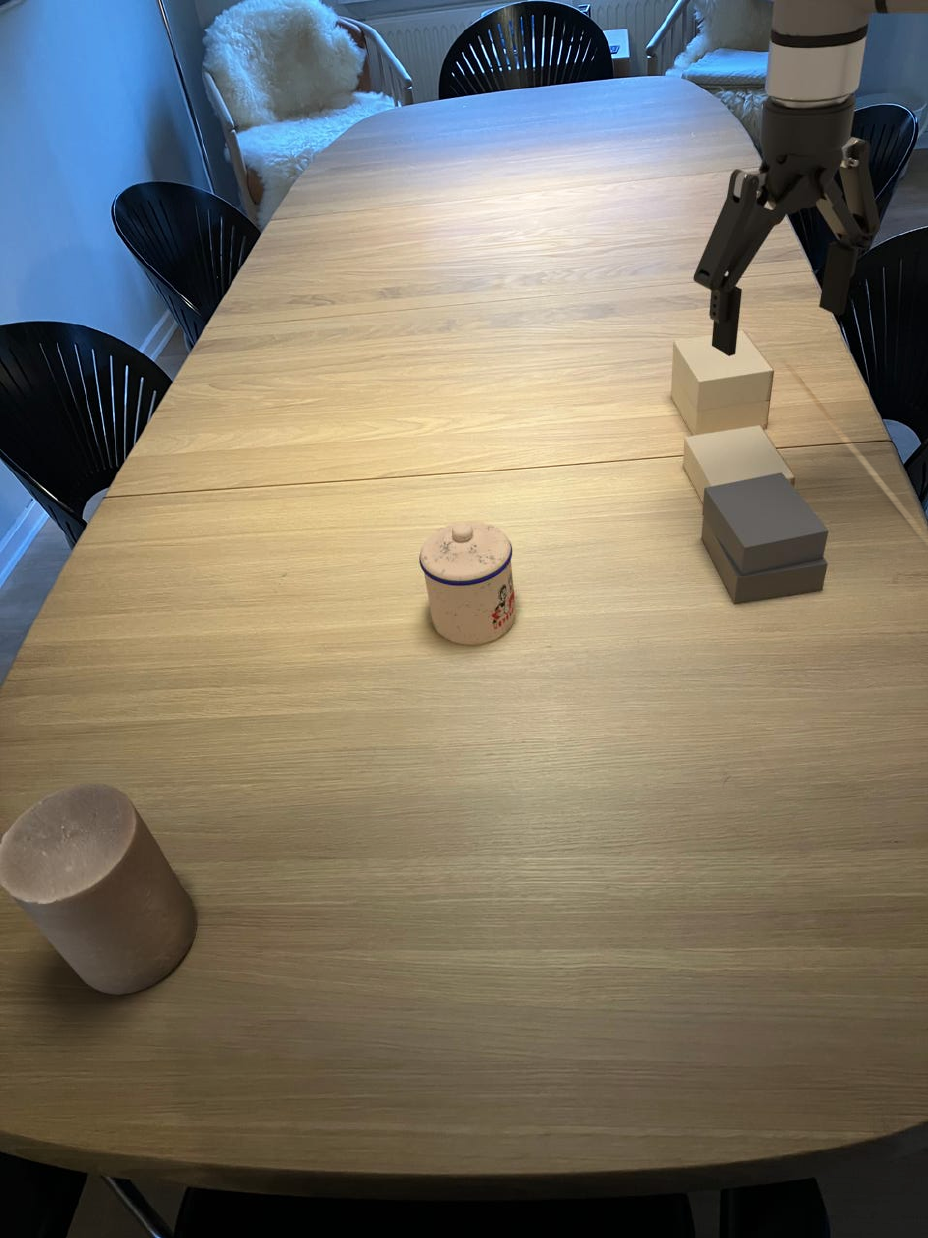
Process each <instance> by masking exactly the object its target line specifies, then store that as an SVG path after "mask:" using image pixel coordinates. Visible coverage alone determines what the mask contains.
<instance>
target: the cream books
mask: <svg viewBox="0 0 928 1238" xmlns="http://www.w3.org/2000/svg"><path fill="white" fill-rule="evenodd" d="M712 336H713V334H709V335H702V336H696V337H690V338H689V337H688V338H683V339H676V340H673V341H672V359H671V360H672V361H671V379H670V380H671V382H670V387H671V388H670V399H671V400H672V402H673V403H674V405H675V407H676V409H677V410H678V412H679V414H680V416H681V417H682V419H683V421H684V423H685V424H686V426H687V428H688V431H690V433H691V436H695V435H701V434H708V433H714V432H721V431H727V430H733V429H740V428H746V427H752V426H759V425H761V427H762V428H763V430H766V429H768V424H769V415H770V407H771V400H772V399H771V398H772V393H773V392H772V391H773V385H774V384H773V383H774V375H775V369H774V368H773V366H772V365H771V364H770V363H769V360H767V359H766V357H765V356H764V355H763V354H762V352H761V351H760V349H759V348H758V347H757V345H755V343H754V342H753V340H752V339H751V338H750V336H749V335H748V333H746V331H745V330H744V329H740V330H739V329H738V333H737V343H736V352H735V354H734V355H731V356H728V355H726V354H725V353H723V352H721V351H719V350H718V349H716V348H714V347H713V346H712Z"/></svg>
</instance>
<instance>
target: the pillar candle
mask: <svg viewBox="0 0 928 1238" xmlns="http://www.w3.org/2000/svg"><path fill="white" fill-rule="evenodd" d="M0 886H1V887H2V888H3V889H4V890H5V891H6V892H7V893H8V894H9V896H10V897H11V898H12V899H13V900H14V901H15V902H16V904H17V905H18V906H19V907H20V908H21V909H22V911H23V912H24V914H26V915H27V916H28V918H29V919H30V920H31V921H32V922H33V923H34V925H35V926H36V927H37V928H38V929H39V930H40V932H41V933H42V934H43V936H44V937H45V938H46V939H47V941H49V942H50V944H51V945H52V946H53V947H54V948H55V950H56V951H57V952H58V953H59V954H60V955H61V957H62V958H63V960H64V961H65V962H67V963H68V966H70V968H71V969H73V971H74V972H75V973H76V974H77V975H78V976H79V977H80V978H81V979H82V980H83V982H84V983H85V984H86V985H88V986H89V987H91V988H93V989H94V990H96V991H98V992H100V993H103V994H109V995H114V996H119V995H121V996H122V995H127V994H133V993H137V992H140V991H143V990H145V989H147V988H149V987H151V986H154V985H155V984H156V983H158V982H159V981H161V980H162V979H164V978H165V977H166V976H168V975H169V974H170V973H171V972H172V971H173V970H174V969H175V968H177V966H178V964H179V963H180V962H181V960H182V959H183V958H184V957H185V955H186V954H187V952H188V951H189V950H190V947H191V946H192V943H193V941H194V939H195V936H196V931H197V927H198V917H197V909H196V908H197V907H196V906H195V903H194V901H193V899H192V897H191V896H190V894H189V893H188V892H187V890H186V889H185V888H184V887H183V885H182V883H181V881H180V879H179V877H178V876H177V874H176V873H175V872H174V870H173V868H172V866H171V865H170V862H169V861H168V859H167V858H166V856H165V854H164V852H163V850H162V849H161V847H160V845H159V843H158V842H157V840H156V839H155V837H154V835H153V834H152V832H151V831H150V829H149V827H148V825H147V824H146V822H145V821H144V819H143V816H141V814H140V812H139V811H138V810H137V807H136V806H135V804H134V803H133V801H132V800H131V798H129V796H127V794H126V793H124V792H123V791H121V790H120V789H119V788H117V787H115V786H112V785H108V784H105V783H101V782H83V783H77V784H72V785H69V786H66V787H63V788H60V789H58V790H56V791H54V792H51V793H49V794H47V795H46V796H44V797H42V798H41V799H40V800H38V801H37V802H35V803H33V804H32V805H31V806H29V808H28V809H26V810H25V811H24V812H23V813H22V814H20V816H19V817H18V818H16V820H15V822H14V823H12V825H11V827H10V828H9V829H8V830H7V831H5V833H3V836H2V838H1V843H0Z"/></svg>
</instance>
